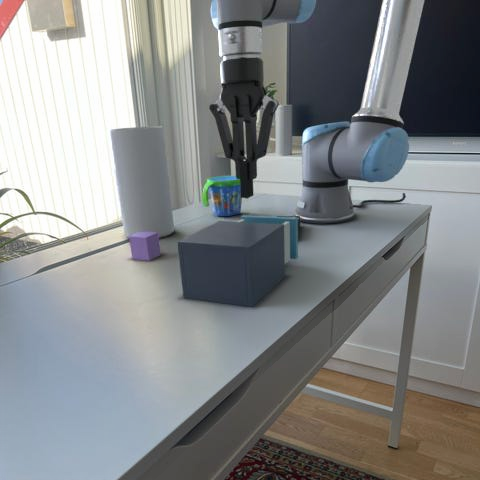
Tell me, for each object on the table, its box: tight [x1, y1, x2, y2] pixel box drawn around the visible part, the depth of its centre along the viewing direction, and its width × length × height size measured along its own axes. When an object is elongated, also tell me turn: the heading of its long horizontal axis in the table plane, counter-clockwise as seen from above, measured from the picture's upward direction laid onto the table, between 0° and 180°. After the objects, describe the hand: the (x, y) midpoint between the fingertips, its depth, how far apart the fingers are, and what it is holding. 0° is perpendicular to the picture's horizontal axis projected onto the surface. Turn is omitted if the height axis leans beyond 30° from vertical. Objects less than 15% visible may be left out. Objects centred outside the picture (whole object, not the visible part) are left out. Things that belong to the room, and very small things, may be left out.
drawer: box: [236, 214, 299, 264], centre depth 91 cm, size 19×11×8 cm, turn 155°
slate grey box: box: [176, 220, 286, 308], centre depth 81 cm, size 15×13×10 cm
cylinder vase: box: [107, 125, 175, 239], centre depth 116 cm, size 12×12×25 cm
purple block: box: [128, 231, 162, 262], centre depth 102 cm, size 4×4×5 cm
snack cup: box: [201, 175, 249, 217], centre depth 136 cm, size 16×10×10 cm
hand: (247, 196), depth 93 cm, fingers closed
